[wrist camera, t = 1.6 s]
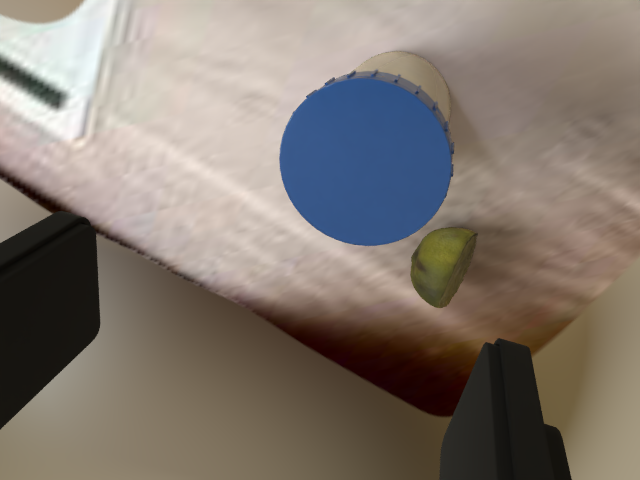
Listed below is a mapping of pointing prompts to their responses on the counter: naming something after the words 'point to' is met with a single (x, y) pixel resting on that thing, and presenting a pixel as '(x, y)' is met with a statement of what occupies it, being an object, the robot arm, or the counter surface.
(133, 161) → the counter surface
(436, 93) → the jar
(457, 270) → the lime
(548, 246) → the counter surface
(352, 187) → the lid
